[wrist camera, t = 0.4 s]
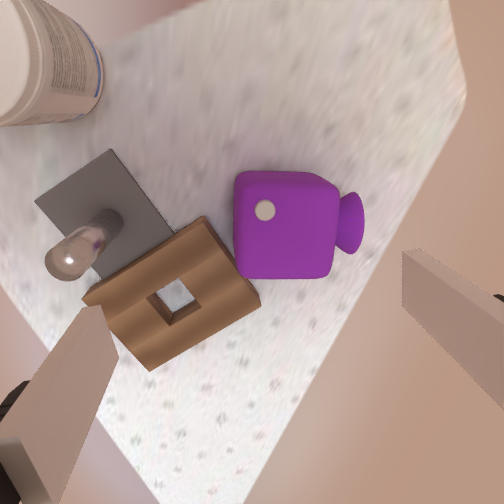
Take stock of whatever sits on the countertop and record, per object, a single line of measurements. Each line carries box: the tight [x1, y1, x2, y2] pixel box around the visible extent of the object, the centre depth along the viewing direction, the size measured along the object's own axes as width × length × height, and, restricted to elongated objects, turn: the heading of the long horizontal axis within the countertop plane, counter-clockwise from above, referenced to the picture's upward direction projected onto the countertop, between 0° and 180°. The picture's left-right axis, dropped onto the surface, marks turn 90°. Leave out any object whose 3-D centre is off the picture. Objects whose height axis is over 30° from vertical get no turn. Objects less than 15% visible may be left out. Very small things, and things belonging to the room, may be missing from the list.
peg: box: [45, 209, 124, 281], centre depth 33 cm, size 3×3×12 cm
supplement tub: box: [0, 0, 103, 127], centre depth 27 cm, size 10×10×15 cm
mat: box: [34, 149, 174, 280], centre depth 39 cm, size 12×10×1 cm
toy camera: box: [233, 171, 364, 279], centre depth 36 cm, size 11×14×10 cm
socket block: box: [82, 216, 261, 372], centre depth 41 cm, size 12×16×3 cm
